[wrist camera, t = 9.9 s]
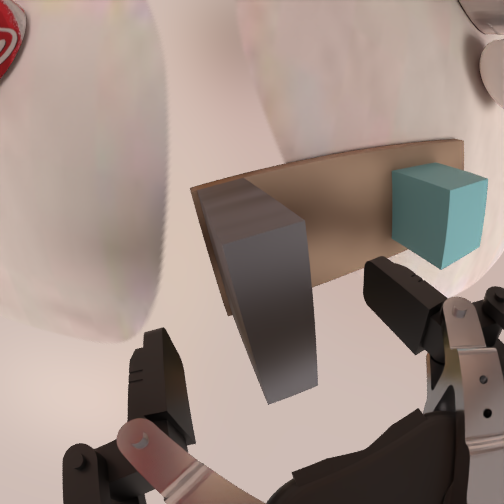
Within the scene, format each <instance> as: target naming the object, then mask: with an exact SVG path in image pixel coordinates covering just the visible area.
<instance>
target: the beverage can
mask: <svg viewBox="0 0 504 504" xmlns="http://www.w3.org/2000/svg"><path fill="white" fill-rule="evenodd" d="M25 28H26V15H25V12H24V10H23V8H22V7H21V6H19V5H18V4H17V3H15V2H14V1H13V0H0V79H1V77H2V76H3V75H4V74H5V72H6V71H7V69H8V68H9V66H10V65H11V63H12V61H13V60H14V58H15V56H16V54H17V52H18V50H19V48H20V45H21V43H22V40H23V37H24V33H25Z"/></svg>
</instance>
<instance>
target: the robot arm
mask: <svg viewBox="0 0 504 504" xmlns="http://www.w3.org/2000/svg"><path fill="white" fill-rule="evenodd" d="M459 2H460V3H461V5H462V7H463V8H464V10H465V12H466V13H467V15H468V16H469V18H470V19H471V21H472V22H473V23H474V24H475V26H476V27H477V28H478V29H479V30H480V31H482V32H483V33H485V34H497V35H503V34H504V0H459ZM363 295H364V299H365V301H366V304H367V305H368V306H369V307H370V308H371V309H372V310H373V311H374V312H375V313H376V315H377V316H378V317H380V319H381V320H382V321H383V322H384V323H385V324H386V325H387V326H388V327H389V328H390V329H391V330H392V331H393V332H394V333H395V334H396V335H397V336H398V337H399V338H400V339H401V340H402V342H403V343H405V345H406V346H407V347H408V348H409V349H410V350H411V351H412V352H413V353H414V354H415V355H417V354H418V353H420V352H421V351H423V350H426V351H427V352H428V353H427V356H426V365H427V401H426V404H425V407H424V411H423V414H422V412H421V411H420V410H419V409H416V410H415V411H413V412H412V413H410V414H409V415H407V416H406V417H404V418H403V419H401V420H399V421H398V422H396V423H394V424H393V425H392V426H390V427H389V428H388V429H387V430H386V431H385V432H384V433H383V434H382V435H381V436H380V437H379V438H378V439H377V440H376V441H375V442H374V443H372V444H371V445H370V446H369V447H368V448H366V449H364V450H362V451H358V452H354V453H350V454H346V455H341V456H337V457H332V458H327V459H325V460H322V461H320V462H317V463H315V464H312V465H310V466H307V467H305V468H302V469H299V470H297V471H294V472H292V475H293V479H292V480H290V481H289V482H287V483H285V484H284V485H283V486H282V487H280V488H279V489H278V490H277V491H276V492H275V493H274V494H273V495H272V496H271V498H270V499H269V500H268V501H267V503H264V502H262V501H260V500H259V499H257V498H255V497H253V496H252V495H250V494H248V493H246V492H245V491H243V490H242V489H240V488H238V487H237V486H235V485H234V484H232V483H231V482H229V481H228V480H226V479H225V478H223V477H222V476H220V475H219V474H217V473H216V472H214V471H213V470H212V469H210V468H209V467H207V466H206V465H204V464H203V463H201V462H199V461H198V460H197V459H195V458H194V457H193V456H191V455H190V454H189V453H188V449H187V445H191V444H195V443H196V441H195V436H194V430H193V425H192V419H191V414H190V407H189V401H188V395H187V388H186V381H185V375H184V368H183V364H182V361H181V358H180V356H179V354H178V352H177V350H176V348H175V347H174V345H173V343H172V341H171V339H170V337H169V335H168V333H167V331H166V329H165V328H159V329H156V330H152V331H148V332H145V333H144V342H143V348H139V349H135V351H134V353H133V355H132V357H131V359H130V365H129V366H130V367H129V373H130V375H129V385H128V421H127V423H125V424H124V425H123V426H122V427H121V429H120V430H119V432H118V435H117V439H116V440H114V441H112V442H110V443H108V444H106V445H103V446H101V447H99V448H96V449H93V448H92V447H90V446H88V445H86V444H82V443H79V444H75V445H73V446H71V447H70V448H69V449H68V450H67V451H66V453H65V455H64V457H63V503H64V504H146V500H145V495H144V494H145V493H147V492H149V491H152V490H154V489H156V490H157V491H158V492H159V493H160V494H161V495H162V496H163V497H164V501H165V503H166V504H504V344H503V343H502V342H501V341H500V340H499V339H498V337H499V335H500V333H501V331H502V329H504V288H501V287H496V286H495V287H491V288H489V289H488V290H487V291H486V294H485V297H484V300H480V301H477V302H473V303H471V302H470V301H469V300H467V299H465V298H462V297H451V298H447V297H445V296H444V295H443V294H441V293H440V292H439V291H438V290H436V289H435V288H434V287H432V286H431V285H430V284H429V283H427V282H426V281H425V280H424V281H423V280H422V278H421V277H419V276H418V275H416V274H415V273H414V272H413V271H411V270H410V269H408V268H407V267H405V266H402V265H399V264H396V263H395V264H394V263H393V262H391V261H390V260H389V259H387V258H386V257H384V256H380V257H377V258H375V259H372V260H369V261H367V262H366V263H365V266H364V286H363Z"/></svg>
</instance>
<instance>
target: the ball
mask: <svg viewBox="0 0 504 504" xmlns="http://www.w3.org/2000/svg"><path fill="white" fill-rule="evenodd" d="M480 73H481V78H482V81H483V83H484V86H485V88H486V89H487V91H488V93H489V94H490V96H491V97H492V99H493V100H494V101H495V102H496V103H497V104H498V105H499V106H501V107H502V108H503V109H504V39H501V40H494V41H492V42H491V43H489V44H487V46H486V47H485V49H484V50H483V51H482V54H481V58H480Z"/></svg>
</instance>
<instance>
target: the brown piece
mask: <svg viewBox="0 0 504 504" xmlns="http://www.w3.org/2000/svg"><path fill="white" fill-rule="evenodd" d="M435 162H436V163H440V164H443V165H447V166H450V167H453V168H457V169H460V170H463V171H464V141H462V140H458V139H447V140H435V141H424V142H414V143H405V144H397V145H389V146H382V147H375V148H368V149H361V150H355V151H349V152H343V153H337V154H332V155H326V156H321V157H316V158H310V159H305V160H301V161H296V162H291V163H286V164H282V165H277V166H273V167H269V168H264V169H260V170H256V171H251V172H247V173H243V174H239V175H236V176H232V177H228V178H224V179H221V180H216V181H213V182H209V183H206V184H202V185H199V186H195V187H192V188H190V190H191V194H192V198H193V201H194V205H195V208H196V212H197V216H198V219H199V223H200V226H201V230H202V233H203V237H204V240H205V243H206V247H207V251H208V254H209V257H210V261H211V264H212V267H213V271H214V274H215V277H216V280H217V284H218V287H219V290H220V293H221V297H222V300H223V303H224V306H225V309H226V312H227V315H228V316H230V315H233V317H234V320H235V322H236V325H237V328H238V330H239V333H240V335H241V338H242V341H243V343H244V345H245V348H246V351H247V353H248V356H249V359H250V361H251V364H252V366H253V368H254V371H255V374H256V376H257V379H258V381H259V383H260V386H261V388H262V391H263V393H264V396H265V398H266V400H267V403H268V405H269V404H271V403H274V402H277V401H280V400H282V399H285V398H288V397H290V396H293V395H296V394H298V393H301V392H303V391H305V390H308V389H310V388H313V387H315V386H317V385H318V376H317V354H316V335H315V320H314V307H313V294H312V287H315V286H318V285H320V284H323V283H326V282H328V281H331V280H333V279H336V278H339V277H341V276H344V275H346V274H349V273H352V272H354V271H357V270H359V269H362V268H364V266H365V263H366V262H367V261H369V260H372V259H375V258H377V257H380V256H384V257H386V258H389V257H391V256H393V255H396V254H398V253H400V252H403V251H405V250H407V249H408V248H406V247H404V246H403V245H401V244H400V243H398V242H396V241H395V240H393V239H392V171H393V170H398V169H403V168H408V167H413V166H419V165H424V164H430V163H435Z"/></svg>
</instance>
